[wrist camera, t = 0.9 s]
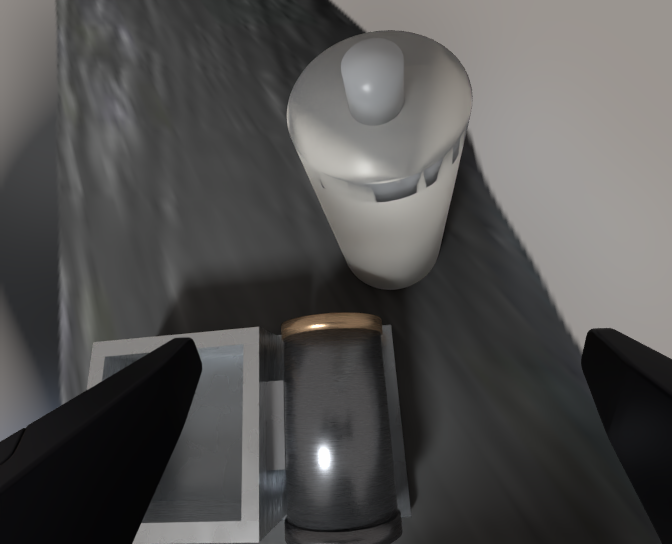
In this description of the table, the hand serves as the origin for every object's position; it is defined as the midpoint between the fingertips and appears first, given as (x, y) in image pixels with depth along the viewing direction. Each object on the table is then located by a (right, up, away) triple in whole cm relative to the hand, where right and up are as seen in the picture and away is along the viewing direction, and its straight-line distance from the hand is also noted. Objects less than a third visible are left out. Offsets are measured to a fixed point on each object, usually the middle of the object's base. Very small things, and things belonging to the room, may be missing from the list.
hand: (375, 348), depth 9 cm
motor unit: (-5, -7, +13) cm, 16 cm away
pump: (+2, +4, +15) cm, 16 cm away
